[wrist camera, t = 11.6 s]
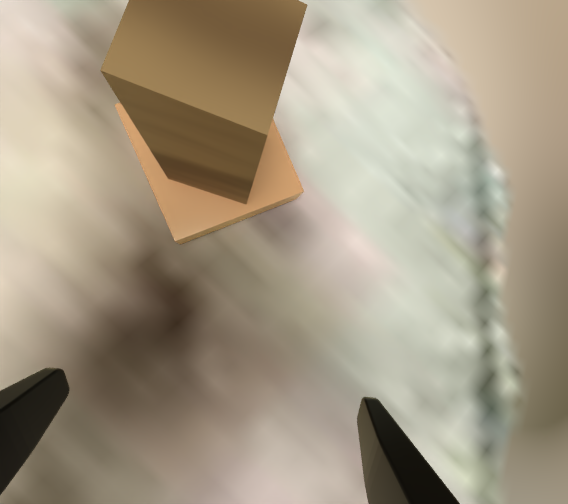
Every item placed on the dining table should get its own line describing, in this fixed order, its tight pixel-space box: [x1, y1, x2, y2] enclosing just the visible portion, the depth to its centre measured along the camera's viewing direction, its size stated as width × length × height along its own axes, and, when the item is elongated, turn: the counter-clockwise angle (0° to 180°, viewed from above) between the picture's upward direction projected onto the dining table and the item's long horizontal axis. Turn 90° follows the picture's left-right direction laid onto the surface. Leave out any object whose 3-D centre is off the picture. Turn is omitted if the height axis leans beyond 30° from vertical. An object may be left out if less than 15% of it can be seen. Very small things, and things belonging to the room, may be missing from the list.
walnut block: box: [101, 0, 307, 204], centre depth 13 cm, size 5×5×9 cm
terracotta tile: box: [115, 103, 304, 244], centre depth 18 cm, size 9×9×2 cm
